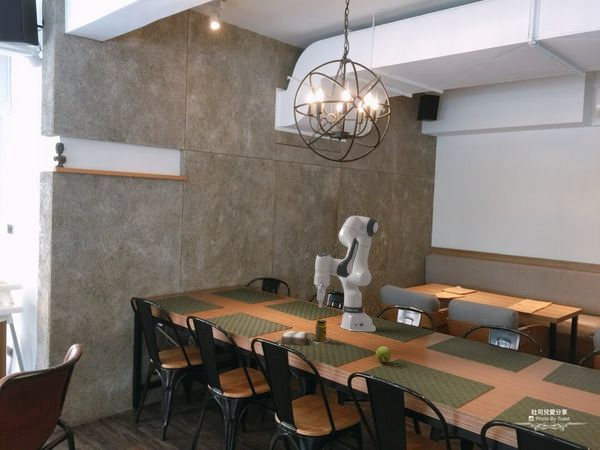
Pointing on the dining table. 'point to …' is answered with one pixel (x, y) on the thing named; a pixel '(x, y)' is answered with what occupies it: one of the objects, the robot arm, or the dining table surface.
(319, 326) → the condiment
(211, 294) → the dining table surface
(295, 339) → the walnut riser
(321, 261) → the robot arm
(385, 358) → the apple
